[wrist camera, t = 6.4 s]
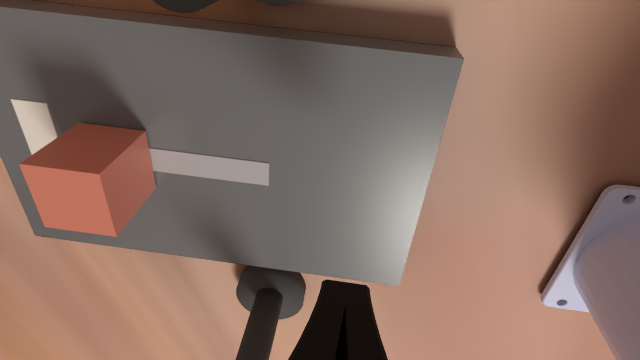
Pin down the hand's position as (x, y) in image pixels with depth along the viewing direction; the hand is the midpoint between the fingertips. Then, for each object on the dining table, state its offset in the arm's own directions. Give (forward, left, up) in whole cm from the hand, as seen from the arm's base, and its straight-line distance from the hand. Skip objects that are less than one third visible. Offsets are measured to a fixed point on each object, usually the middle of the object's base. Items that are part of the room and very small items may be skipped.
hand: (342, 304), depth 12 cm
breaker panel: (+7, 0, -8) cm, 10 cm away
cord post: (+4, +9, -8) cm, 13 cm away
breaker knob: (+11, 0, -6) cm, 12 cm away
